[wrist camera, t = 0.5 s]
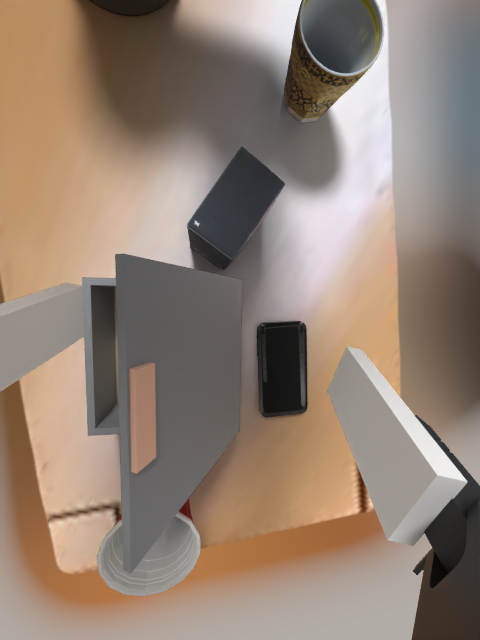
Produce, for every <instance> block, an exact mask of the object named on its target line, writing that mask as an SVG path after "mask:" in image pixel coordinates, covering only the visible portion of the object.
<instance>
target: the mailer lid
mask: <svg viewBox="0 0 480 640" xmlns="http://www.w3.org/2000/svg"><path fill="white" fill-rule="evenodd" d="M115 260H116V301H117V342H118V383H119V423H120V464H121V505H122V546H123V570H125V571H126V572H128V573H130V574H131V573H132V572H133V570H134V569H135V568H136V567H137V565H138V564H139V563H140V561H141V560H142V559H143V557H144V556H145V555H146V553H147V552H148V551H149V549H150V548H151V547H152V545H153V544H154V543H155V542H156V540H157V539H158V538H159V536H160V535H161V534H162V532H163V531H164V530H165V528H166V527H167V526H168V524H169V523H170V522H171V520H172V519H173V518H174V517H175V515H176V514H177V513H178V511H179V510H180V509H181V507H182V506H183V505H184V503H185V502H186V501H187V499H188V498H189V497H190V495H191V494H192V493H193V492H194V490H195V489H196V488H197V486H198V485H199V484H200V482H201V481H202V480H203V478H204V477H205V476H206V474H207V473H208V472H209V470H210V469H211V468H212V467H213V465H214V464H215V463H216V461H217V460H218V459H219V457H220V456H221V455H222V453H223V452H224V451H225V449H226V448H227V447H228V445H229V444H230V443H231V442H232V440H233V439H234V438H235V436H236V435H237V434H238V432H239V431H240V379H241V323H242V280H241V279H237V278H232V277H227V276H223V275H218V274H214V273H209V272H205V271H200V270H196V269H191V268H186V267H182V266H177V265H173V264H168V263H164V262H159V261H154V260H150V259H145V258H141V257H136V256H132V255H127V254H115Z"/></svg>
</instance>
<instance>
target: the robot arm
mask: <svg viewBox="0 0 480 640" xmlns="http://www.w3.org/2000/svg"><path fill="white" fill-rule="evenodd" d="M92 1H93V2H94V3H96V4H98V5H99V6H101V7H103V8H105V9H107V10H109V11H112V12H115V13H119V14H124V15H141V14H146V13H149V12H152V11H154V10H156V9H158V8H160V7H161V6H162V5H164V4H165V3H166V2H167V1H168V0H92ZM82 337H84V317H83V286H80V285H75V284H71V283H64V284H61V285H58V286H55V287H52V288H48V289H45V290H42V291H39V292H36V293H33V294H30V295H27V296H23V297H20V298H17V299H14V300H11V301H8V302H5V303H2V304H0V392H1V391H2V390H4V389H5V388H7V387H8V386H9V385H11V384H13V383H14V382H16V381H17V380H19V379H20V378H22V377H23V376H25V375H26V374H28V373H29V372H31V371H32V370H34V369H35V368H37V367H38V366H40V365H41V364H43V363H45V362H46V361H48V360H49V359H51V358H52V357H54V356H55V355H57V354H58V353H60V352H61V351H63V350H64V349H66V348H67V347H69V346H70V345H72V344H73V343H75V342H76V341H78V340H79V339H81V338H82ZM327 392H328V394H329V397H330V399H331V401H332V404H333V406H334V409H335V411H336V414H337V416H338V419H339V421H340V424H341V426H342V429H343V431H344V434H345V436H346V439H347V441H348V444H349V446H350V449H351V451H352V453H353V456H354V458H355V461H356V463H357V466H358V468H359V471H360V473H361V476H362V478H363V481H364V483H365V486H366V488H367V491H368V493H369V496H370V498H371V501H372V503H373V505H374V508H375V510H376V513H377V515H378V518H379V520H380V523H381V525H382V528H383V530H384V532H385V535H386V538H387V540H390V541H394V542H398V543H403V544H408V545H412V546H414V544H416V542H417V541H418V540H419V539H420V538H421V537H422V535H423V534H424V533H425V534H426V536H427V538H428V540H429V542H430V544H431V546H432V547H433V548H432V549H431V550H430V551H429V552H428V553H427V554H426V555H425V557H424V558H423V559H422V560H421V561H420V562H419V563H418V564H417V565H416V567H415V569H414V570H413V572H414V573H416V575H418V574H419V573H420V572H421V570H424V573H423V578H422V584H421V589H420V595H419V601H418V607H417V613H416V618H415V624H414V629H413V635H412V640H480V486H479V485H478V483H477V482H476V481H475V480H474V479H473V477H472V476H471V475H470V474H469V473H468V472H467V470H466V469H465V468H464V467H463V465H462V464H461V463H460V462H459V461H458V459H457V458H456V457H455V456H454V455H453V453H450V450H449V449H448V447H447V446H446V445H445V444H444V443H443V442H441V439H440V438H439V437H438V435H437V434H436V433H435V432H434V431H433V429H432V428H431V427H430V426H429V425H427V424H426V423H425V422H424V421H423V420H421V419H420V418H419V417H418V416H417V415H414V414H413V413H412V412H411V410H410V409H409V408H408V407H407V406H406V404H405V403H404V402H403V401H402V399H401V398H400V397H399V396H398V394H397V393H396V392H395V391H394V389H393V388H392V387H391V386H390V384H389V383H388V382H387V381H386V379H385V378H384V377H383V376H382V374H381V373H380V372H379V371H378V369H377V368H376V367H375V366H374V364H373V363H372V362H371V361H370V359H369V358H368V357H367V356H366V354H365V353H364V352H363V351H362V350H361V349H356V348H352V347H346V349H345V351H344V354H343V356H342V358H341V361H340V363H339V365H338V367H337V370H336V372H335V374H334V377H333V379H332V381H331V384H330V386H329V388H328V391H327Z"/></svg>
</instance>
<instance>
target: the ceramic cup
mask: <svg viewBox="0 0 480 640" xmlns="http://www.w3.org/2000/svg"><path fill="white" fill-rule="evenodd" d="M383 39H384V23H383V17H382V13H381V10H380V7H379V5H378V3H377V1H376V0H302V2H301V5H300V8H299V12H298V16H297V20H296V25H295V30H294V35H293V41H292V48H291V55H290V60H289V65H288V71H287V77H286V81H285V88H284V93H285V99H286V106H287V110H288V112H290V113H291V114H292V115H293V116H294V117H295V118H296V119H298V120H299V121H300V122H301V123H303V122H313V121H317V120H318V119H319V118H320V117H321V116H322V115H323V114H324V113H325V112H326V111H327V110H328V109H329V108H330V107H331V106H332V105H333V104H334V103H335V102H336V101H337V100H338V99H339V98H340V97H341V96H342V95H343V94H344V93H345V92H347V91H348V90H349V89H350V88H351V87H352V86H353V85H354V84H355V83H356V82H357V81H358V80H359V79H360V78H361V77H362V76H363V75H364V74H365V72H366V71H367V70H368V69H369V68H370V67H371V66H372V65H373V63H374V62H375V61H376V59H377V57H378V55H379V53H380V51H381V48H382V44H383Z"/></svg>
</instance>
